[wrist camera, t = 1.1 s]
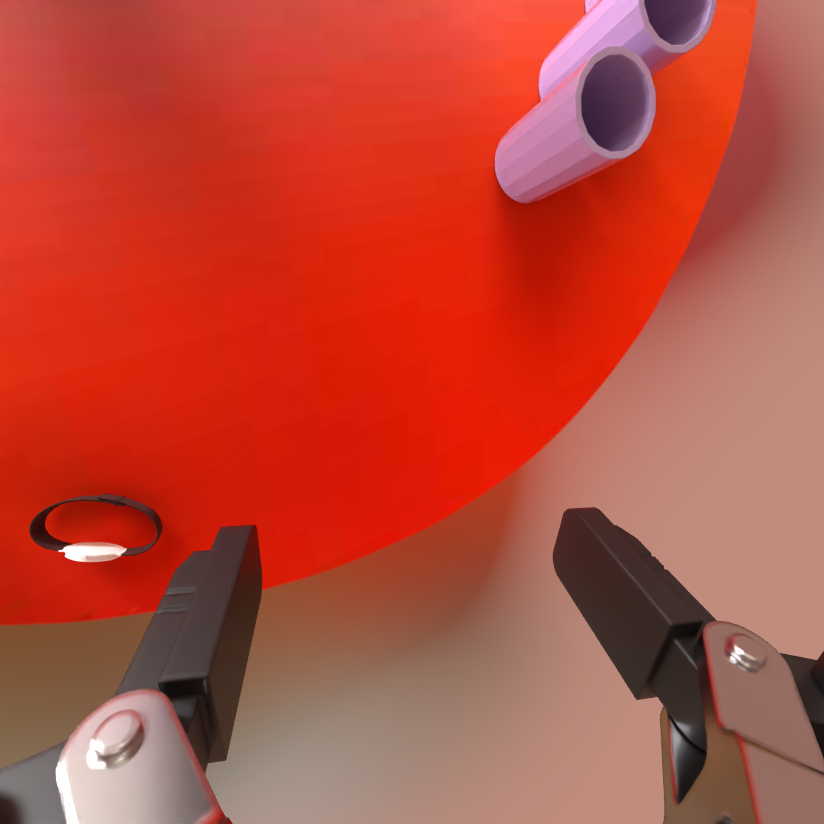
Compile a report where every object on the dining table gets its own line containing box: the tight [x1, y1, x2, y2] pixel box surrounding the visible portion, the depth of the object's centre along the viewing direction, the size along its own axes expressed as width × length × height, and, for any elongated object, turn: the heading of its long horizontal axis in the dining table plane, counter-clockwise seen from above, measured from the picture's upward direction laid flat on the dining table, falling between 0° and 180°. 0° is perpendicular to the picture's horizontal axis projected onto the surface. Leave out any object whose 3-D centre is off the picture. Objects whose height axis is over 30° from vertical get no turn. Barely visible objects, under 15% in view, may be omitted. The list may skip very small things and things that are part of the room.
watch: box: [29, 494, 162, 562], centre depth 29 cm, size 8×5×4 cm, turn 75°
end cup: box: [495, 46, 656, 203], centre depth 29 cm, size 6×6×10 cm
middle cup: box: [539, 0, 717, 101], centre depth 28 cm, size 6×6×10 cm
